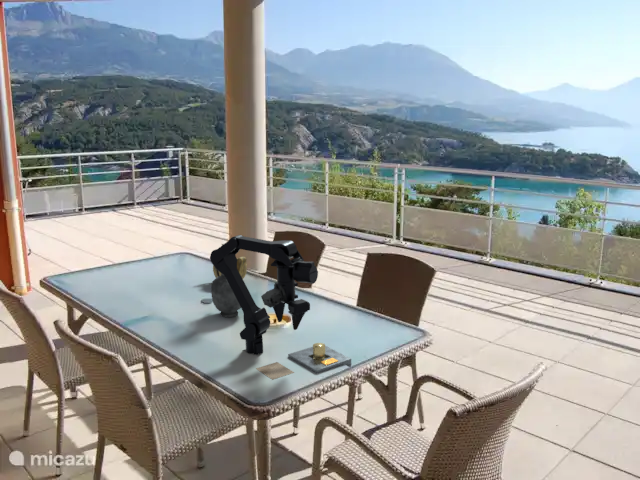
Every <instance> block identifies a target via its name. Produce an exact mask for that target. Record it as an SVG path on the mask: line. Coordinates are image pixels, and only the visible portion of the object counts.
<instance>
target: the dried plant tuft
mask: <svg viewBox="0 0 640 480" xmlns="http://www.w3.org/2000/svg"><path fill="white" fill-rule="evenodd" d="M236 258H237V269H238V271H239V273H240V275H241V277H242V279H243V280H244V278H245V277H246V275H247V271H248V265H247V257H245V256H240V257H236ZM212 269H213V270H212V272H213V275H214V277H215V279H216V278H217V277H218V275H217V271H216V268H215V267H214V265H213V264H212ZM219 275H220V276H221V272H219Z"/></svg>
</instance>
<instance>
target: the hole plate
mask: <svg viewBox="0 0 640 480" xmlns="http://www.w3.org/2000/svg"><path fill="white" fill-rule="evenodd" d="M287 354H288V355H287V357H288V359H290V360H293V361H294V362H296V363H297V364H299V365H301V366H303V367H305V368H307V369H308V370H310V371H311V372H313V373H315V374H316V375H317V374H319V373H323V372H325V371H329V370H331V369H335V368H337V367H340V366H342V365H345V366H347V367H348V366H351V365H352V358H350V357H349V356H346V355H345V354H342V353H341V352H339V351H336V350H335V349H333V348H331V347H328V346H326V345H325V359H323V360H320V361H316V360H314V359H313V346H309V347H307V348H304V349H300V350H297V351H294V352H291V353H287Z"/></svg>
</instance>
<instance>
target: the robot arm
mask: <svg viewBox="0 0 640 480" xmlns="http://www.w3.org/2000/svg"><path fill="white" fill-rule="evenodd" d="M223 244H224V245H222V244H221V246H219V247H218V248H216V249H213V250H212V251H211V253H210V255H209V260H210V262H211V264H212V266H213V265H214V267H215V268H216V269H217V270H218V271H219V272H221V273H222V274H223V275H224V276H225V278H226V280H227V282H228V284H229V285H230V287H231V289H232V291H233V293H234V295H235V297H236V299H237V301H238V303H239V305H240V307H241V308H240V310H242V312H243V324H244V326H245V327H244V328H243V329H242V330H241V331H240V332H239V336H240V338H241V339H240V340H244V341H245V349H243V350H242V352H244V351H245V352H246V353H247V354H251V355H252V354H253V355H256V356H257V355H261V354H263V353H264V343H263V342H264V341H263V339H264V338H263V335H264V334H266V333H267V331H268V329H270V326H271V319H270V318H271V317H270V315H269V314H268V312H267V309H266V308H265V306H267V307H268V308H272V310H274V314H275V317H276V320H277V322H278V323H281V322H282V321H283V317H284V312H285V307H286V305H287V308H288V311H287V312H288V313H289V314H290V315H291V320H292V328H293V330H294V331H296V330H298V328H299V326H300V325H301V324H300V323H301V321H302V319H303V318H304V316H305V314H306V313H308V311H310V310H311V303H310V302H309V301H308V300H305V299H303V298H299V295H298V294H296V287H298V285H299V283H304V284H305V283H306V284H316V282H317V279H318V277H319V271H318V269H317V266H316V265H315V261H304V260H305V259H304V258H303V256H302V254H301V253H300V251H299V250H298V248H297V245H296V244H295V242H294V241H293V240H287V239H286V240H284V239H283V240H273V241H271V240H270V241H269V240H266V239H261V238H255V237H249V236H244V235H241V234H238V235H235V236H232V237H230V238H229V239H228V240H227V241H226V242H225V243H223ZM240 250H244V251H248V252H253V253H258V254H265V255H267V256H268V257H270V258H271V259H273V260H274V261H273V262H271V263H270V266H271V267H275V268H276V280H277V282H274V284H273V288H271V289H270V290H268V291H266V292H265V293H263V294H262V295H261V296H260V297H261V299H262V302H263V305H264V307H262V308H261V307H259V306H258V305H257V304H256V302H255V300H254V298H253V296H252V293H251V292H250V290H249V288H248V287H247V285H246V283H245V280H244V278H243V279H242V277H241V275H240V273H239V271H238V269H237V258H238V257H237V256H236V255H237V254H238V253H239V252H240ZM295 299H297V300H295Z"/></svg>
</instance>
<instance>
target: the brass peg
mask: <svg viewBox="0 0 640 480" xmlns="http://www.w3.org/2000/svg"><path fill="white" fill-rule="evenodd" d="M325 346H326V344H325V343H324V342H315V343H313V344H312V347H313V357H312V359H314V360H316V361H320V360H323V359H326V357H325Z"/></svg>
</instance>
